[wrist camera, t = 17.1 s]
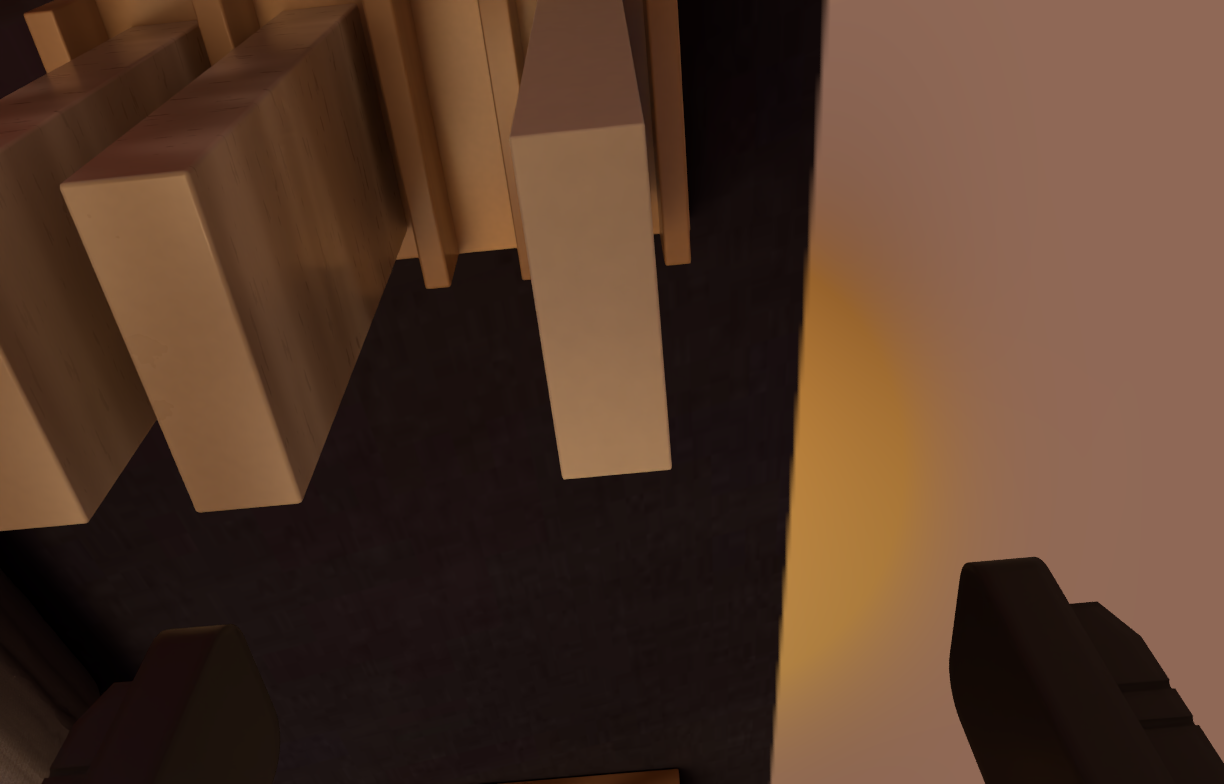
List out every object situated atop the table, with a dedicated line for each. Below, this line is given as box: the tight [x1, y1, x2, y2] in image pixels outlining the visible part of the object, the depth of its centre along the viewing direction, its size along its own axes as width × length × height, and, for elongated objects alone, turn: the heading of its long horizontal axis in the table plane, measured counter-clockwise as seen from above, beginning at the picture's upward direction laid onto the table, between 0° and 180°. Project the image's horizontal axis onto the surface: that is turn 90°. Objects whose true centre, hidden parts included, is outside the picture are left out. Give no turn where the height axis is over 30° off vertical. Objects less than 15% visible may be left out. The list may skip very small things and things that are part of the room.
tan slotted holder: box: [0, 0, 691, 531], centre depth 24 cm, size 17×9×15 cm, turn 95°
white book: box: [509, 0, 672, 479], centre depth 23 cm, size 2×7×14 cm, turn 6°
